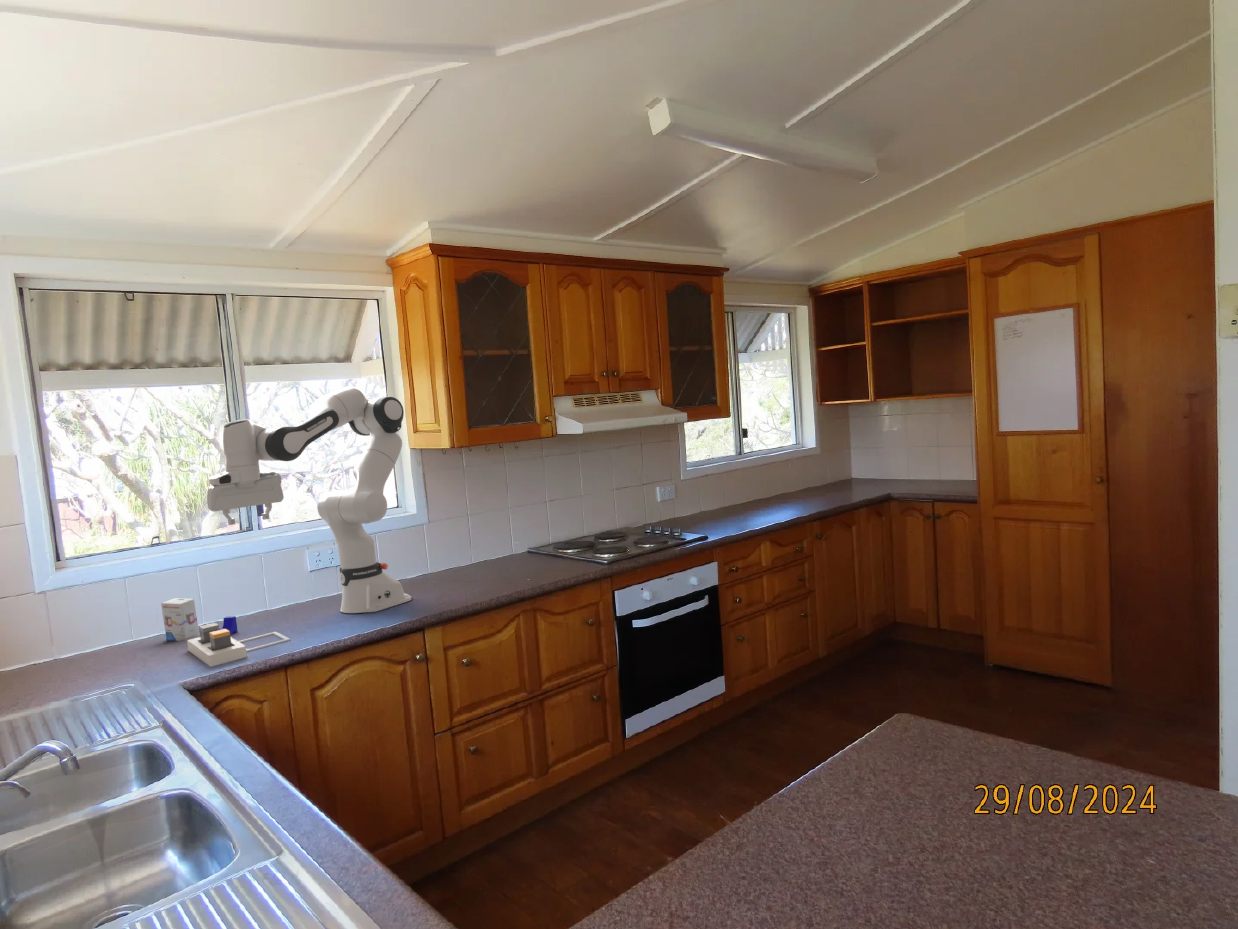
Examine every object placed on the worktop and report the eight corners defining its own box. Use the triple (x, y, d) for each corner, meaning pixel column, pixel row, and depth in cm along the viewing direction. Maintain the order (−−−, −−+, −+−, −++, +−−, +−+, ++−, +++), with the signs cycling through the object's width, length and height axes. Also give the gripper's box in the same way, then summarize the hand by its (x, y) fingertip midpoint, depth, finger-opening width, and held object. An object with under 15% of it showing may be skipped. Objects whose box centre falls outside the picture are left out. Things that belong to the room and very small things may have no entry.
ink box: (165, 640, 231) (159, 602, 230) (179, 635, 236) (174, 597, 235) (186, 641, 228) (180, 602, 227) (200, 636, 233) (195, 598, 232)
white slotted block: (223, 645, 221) (221, 631, 221) (247, 660, 205) (245, 646, 205) (188, 654, 215) (187, 640, 215) (210, 670, 199) (209, 655, 199)
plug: (228, 653, 209) (225, 628, 209) (232, 656, 206) (229, 631, 206) (212, 657, 207) (209, 632, 206) (216, 660, 204) (213, 635, 203)
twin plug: (217, 646, 217) (214, 622, 216) (221, 649, 214) (218, 625, 213) (202, 650, 214) (198, 626, 213) (206, 653, 211) (202, 628, 210)
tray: (276, 636, 226) (275, 631, 226) (290, 643, 217) (290, 638, 217) (232, 647, 218) (231, 642, 218) (245, 655, 209) (245, 650, 209)
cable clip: (224, 636, 232) (222, 616, 231) (238, 635, 231) (235, 616, 230) (197, 649, 220) (194, 629, 219) (211, 649, 219) (208, 628, 219)
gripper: (276, 470, 234) (281, 515, 235) (202, 479, 220) (208, 527, 221) (283, 471, 229) (289, 516, 230) (208, 480, 215) (215, 528, 217)
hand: (249, 522), depth 226 cm, fingers open, 8 cm apart
